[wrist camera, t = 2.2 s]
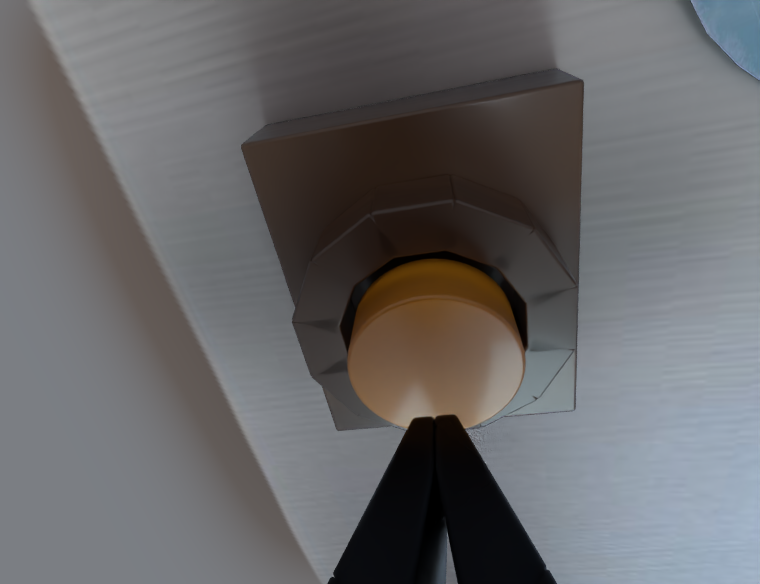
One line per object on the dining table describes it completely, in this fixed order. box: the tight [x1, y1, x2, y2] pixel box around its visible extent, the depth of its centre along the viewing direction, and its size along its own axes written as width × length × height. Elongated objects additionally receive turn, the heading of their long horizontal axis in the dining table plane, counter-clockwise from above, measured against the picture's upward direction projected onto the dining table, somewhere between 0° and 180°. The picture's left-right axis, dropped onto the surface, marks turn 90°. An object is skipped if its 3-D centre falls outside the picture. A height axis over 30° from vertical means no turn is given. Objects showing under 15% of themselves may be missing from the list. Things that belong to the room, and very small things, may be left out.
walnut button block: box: [241, 69, 584, 431], centre depth 13 cm, size 10×8×4 cm
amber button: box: [347, 258, 526, 429], centre depth 11 cm, size 4×4×2 cm
